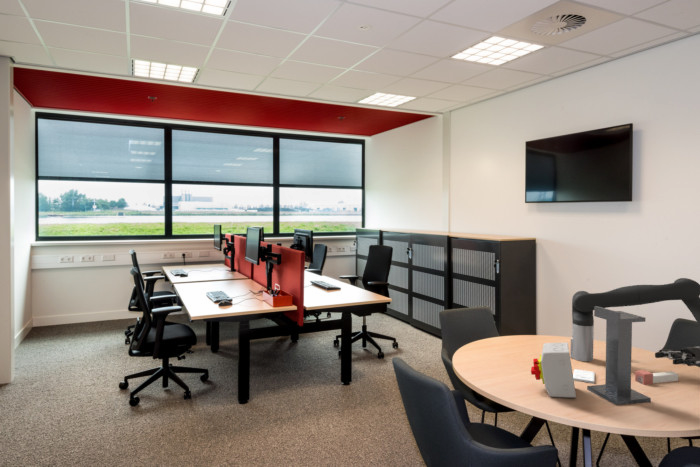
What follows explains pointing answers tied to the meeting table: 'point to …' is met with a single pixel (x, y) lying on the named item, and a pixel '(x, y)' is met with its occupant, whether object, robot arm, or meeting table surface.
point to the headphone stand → (618, 358)
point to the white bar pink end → (654, 377)
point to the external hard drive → (584, 376)
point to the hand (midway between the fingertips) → (664, 358)
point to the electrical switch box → (555, 370)
